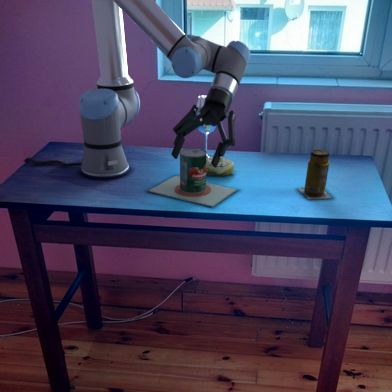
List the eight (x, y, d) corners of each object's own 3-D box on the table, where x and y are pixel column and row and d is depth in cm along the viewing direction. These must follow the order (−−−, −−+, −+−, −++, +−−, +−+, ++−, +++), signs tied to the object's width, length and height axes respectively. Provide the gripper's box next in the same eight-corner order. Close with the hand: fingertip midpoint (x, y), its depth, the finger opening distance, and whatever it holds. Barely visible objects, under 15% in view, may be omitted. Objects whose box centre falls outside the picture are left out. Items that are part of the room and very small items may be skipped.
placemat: (148, 191, 159) (148, 189, 159) (175, 176, 169) (175, 174, 169) (212, 207, 150) (212, 205, 150) (236, 190, 161) (236, 188, 160)
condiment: (321, 188, 163) (327, 147, 155) (331, 198, 156) (338, 157, 149) (298, 189, 162) (303, 149, 154) (308, 200, 155) (313, 158, 148)
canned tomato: (198, 195, 155) (199, 157, 149) (175, 191, 158) (174, 153, 151) (210, 187, 161) (211, 149, 154) (187, 182, 164) (187, 146, 157)
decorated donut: (222, 180, 168) (222, 168, 165) (194, 173, 172) (194, 161, 170) (239, 170, 174) (240, 159, 172) (212, 164, 179) (212, 152, 177)
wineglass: (203, 165, 178) (204, 101, 166) (189, 159, 183) (189, 96, 171) (221, 161, 182) (224, 97, 170) (207, 155, 187) (209, 93, 174)
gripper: (262, 109, 154) (234, 175, 153) (189, 97, 164) (163, 159, 163) (255, 92, 147) (226, 162, 146) (180, 81, 158) (152, 146, 157)
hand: (193, 161), depth 155 cm, fingers open, 13 cm apart
